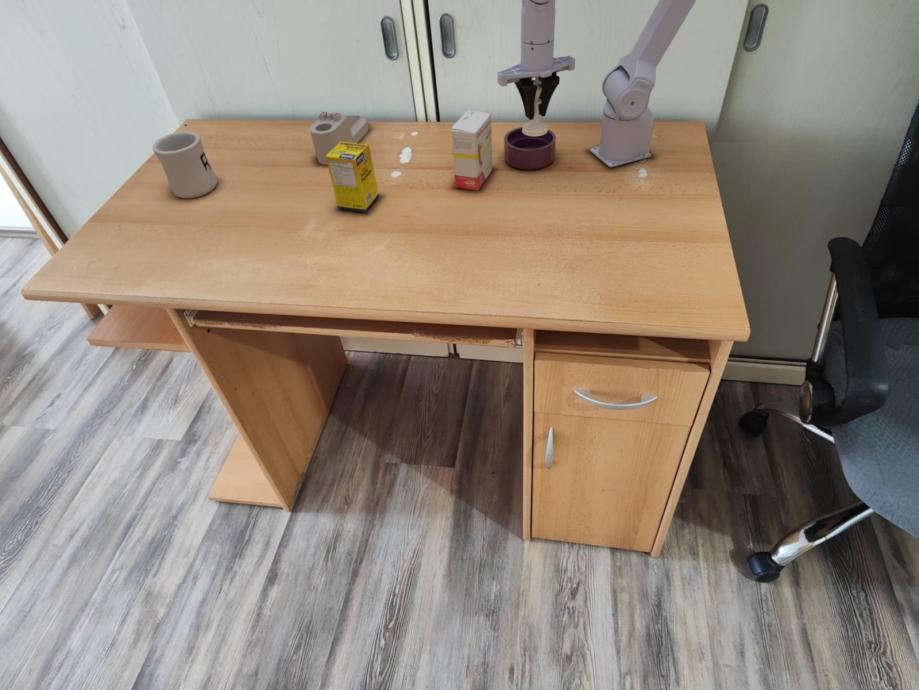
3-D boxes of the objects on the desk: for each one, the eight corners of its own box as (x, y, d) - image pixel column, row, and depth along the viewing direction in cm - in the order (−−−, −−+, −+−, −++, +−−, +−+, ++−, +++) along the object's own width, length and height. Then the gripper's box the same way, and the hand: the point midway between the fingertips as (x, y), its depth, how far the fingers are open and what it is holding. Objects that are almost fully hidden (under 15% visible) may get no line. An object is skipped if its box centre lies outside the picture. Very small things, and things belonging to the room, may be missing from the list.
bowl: (540, 142, 123) (541, 121, 120) (563, 163, 117) (565, 142, 113) (496, 153, 121) (495, 133, 118) (517, 176, 114) (517, 154, 111)
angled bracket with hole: (371, 126, 134) (364, 91, 128) (337, 165, 122) (328, 129, 116) (348, 125, 135) (341, 90, 129) (313, 163, 123) (303, 127, 118)
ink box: (477, 191, 111) (475, 132, 103) (454, 187, 113) (449, 129, 104) (493, 169, 117) (492, 111, 108) (470, 166, 118) (467, 108, 110)
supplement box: (379, 196, 112) (369, 143, 105) (366, 213, 108) (355, 159, 101) (351, 193, 114) (340, 140, 106) (337, 209, 110) (324, 156, 102)
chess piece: (540, 138, 110) (543, 84, 103) (517, 133, 112) (518, 80, 105) (552, 127, 113) (555, 74, 106) (529, 122, 115) (530, 70, 108)
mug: (221, 192, 117) (202, 145, 110) (174, 204, 115) (152, 157, 108) (214, 165, 125) (196, 120, 118) (170, 176, 123) (149, 131, 116)
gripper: (509, 54, 96) (509, 133, 106) (586, 37, 99) (579, 115, 109) (491, 41, 101) (493, 118, 111) (566, 25, 104) (561, 101, 114)
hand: (535, 115), depth 110 cm, fingers closed on chess piece
